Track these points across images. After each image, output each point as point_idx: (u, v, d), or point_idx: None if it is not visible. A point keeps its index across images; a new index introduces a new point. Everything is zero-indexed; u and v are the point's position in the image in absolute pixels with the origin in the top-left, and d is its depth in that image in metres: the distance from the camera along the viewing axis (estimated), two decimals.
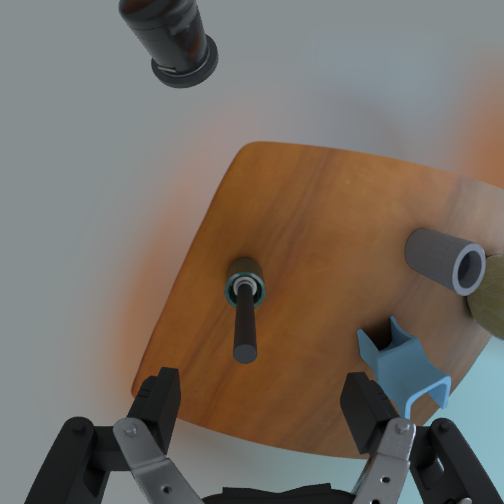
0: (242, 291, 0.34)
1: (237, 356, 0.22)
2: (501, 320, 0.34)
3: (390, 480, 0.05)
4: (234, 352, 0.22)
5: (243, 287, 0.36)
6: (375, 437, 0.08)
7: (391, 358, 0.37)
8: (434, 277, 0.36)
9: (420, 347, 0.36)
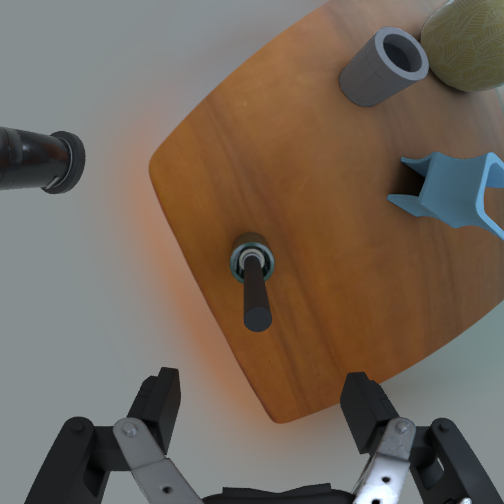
0: (244, 266, 0.32)
1: (254, 327, 0.20)
2: (483, 66, 0.23)
3: (390, 480, 0.05)
4: (247, 326, 0.20)
5: (245, 262, 0.33)
6: (375, 437, 0.08)
7: (431, 191, 0.30)
8: (388, 91, 0.29)
9: (444, 156, 0.28)
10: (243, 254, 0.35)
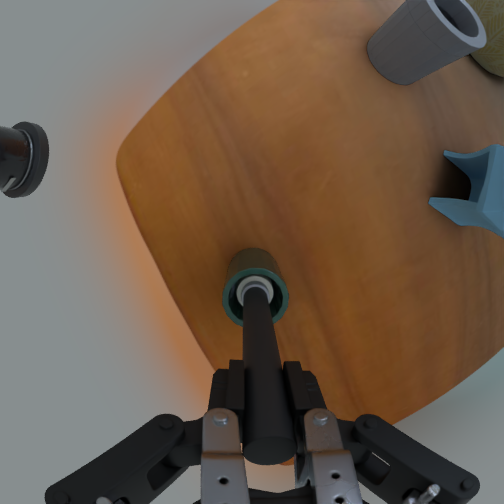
0: (244, 307, 0.20)
1: (263, 461, 0.08)
2: None
3: (340, 474, 0.06)
4: (250, 460, 0.08)
5: (244, 299, 0.22)
6: (297, 426, 0.09)
7: (495, 195, 0.18)
8: (437, 61, 0.17)
9: None
10: (242, 284, 0.24)
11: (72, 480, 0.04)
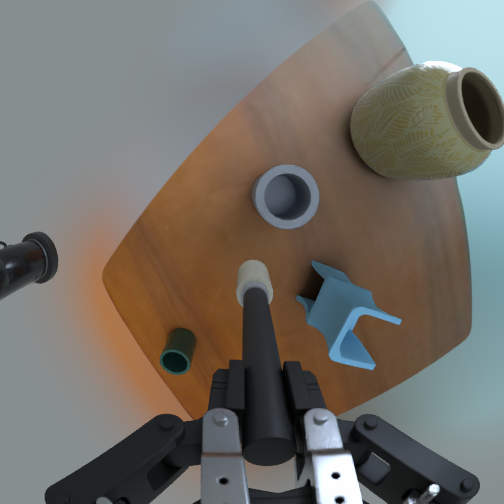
0: (243, 308, 0.20)
1: (262, 461, 0.08)
2: (406, 170, 0.33)
3: (340, 474, 0.06)
4: (249, 461, 0.08)
5: (244, 300, 0.22)
6: (297, 426, 0.09)
7: (315, 315, 0.40)
8: None
9: (332, 285, 0.38)
10: (242, 284, 0.24)
11: (72, 480, 0.04)
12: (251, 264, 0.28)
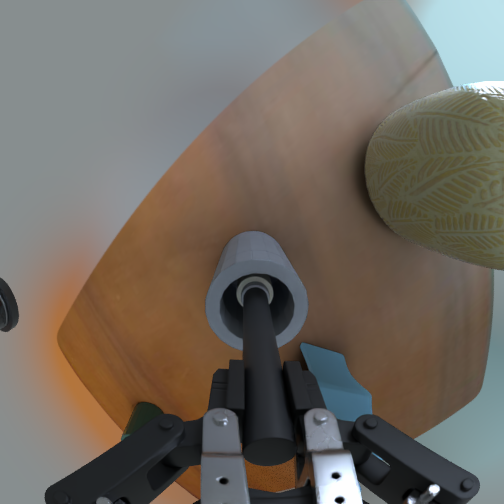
0: (244, 308, 0.20)
1: (262, 461, 0.08)
2: (445, 252, 0.21)
3: (340, 474, 0.06)
4: (250, 461, 0.08)
5: (244, 300, 0.22)
6: (297, 426, 0.09)
7: None
8: None
9: None
10: (242, 284, 0.24)
11: (72, 480, 0.04)
12: None
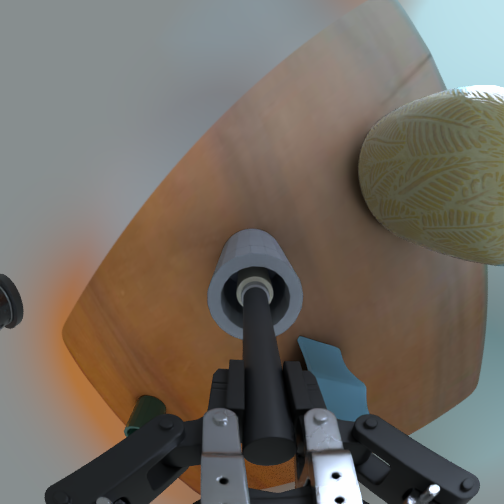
0: (244, 308, 0.20)
1: (262, 461, 0.08)
2: (433, 248, 0.23)
3: (340, 474, 0.06)
4: (250, 460, 0.08)
5: (244, 300, 0.22)
6: (297, 426, 0.09)
7: None
8: None
9: None
10: (242, 284, 0.24)
11: (72, 480, 0.04)
12: None
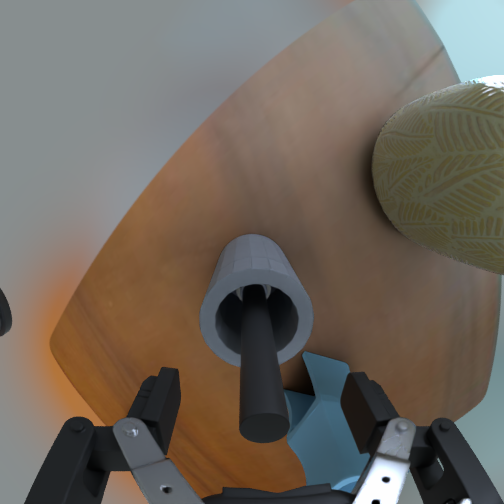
0: (242, 301, 0.22)
1: (258, 438, 0.10)
2: (460, 258, 0.19)
3: (390, 480, 0.05)
4: (246, 437, 0.09)
5: (243, 294, 0.23)
6: (375, 437, 0.08)
7: (298, 440, 0.25)
8: None
9: (324, 414, 0.24)
10: None
11: None
12: None
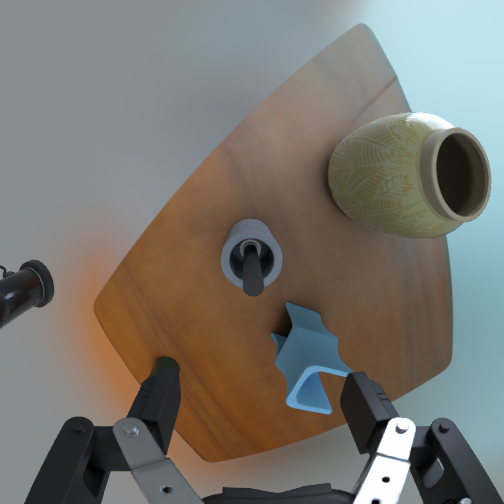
0: (244, 252, 0.38)
1: (250, 292, 0.26)
2: (377, 228, 0.35)
3: (390, 480, 0.05)
4: (245, 292, 0.26)
5: (244, 250, 0.40)
6: (375, 437, 0.08)
7: (281, 359, 0.42)
8: None
9: (297, 335, 0.41)
10: (243, 243, 0.42)
11: None
12: None
